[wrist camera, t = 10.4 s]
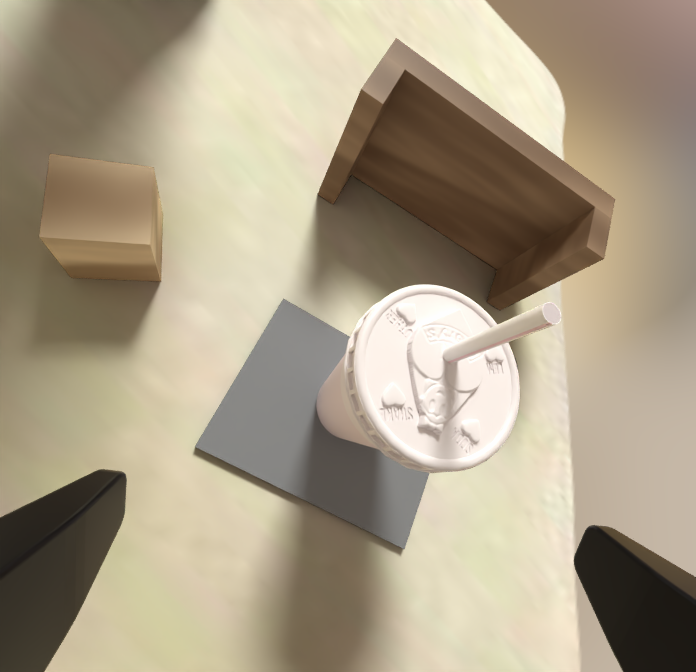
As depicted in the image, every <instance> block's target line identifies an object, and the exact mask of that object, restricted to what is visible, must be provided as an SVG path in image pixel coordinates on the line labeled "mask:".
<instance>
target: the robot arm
mask: <svg viewBox="0 0 696 672" xmlns="http://www.w3.org/2000/svg"><path fill="white" fill-rule="evenodd" d="M126 481H127V480H126V474H125V473H124V472H122V471H114V470H105V469H101V470H97V471H95V472H93V473H91V474H89V475H87V476H85V477H83V478H80V479H78V480H76V481H74V482H72V483H70V484H68V485H66V486H64V487H62V488H60V489H58V490H56V491H54V492H52V493H50V494H48V495H46V496H44V497H41V498H39V499H37V500H35V501H33V502H31V503H29V504H27V505H25V506H23V507H21V508H19V509H17V510H15V511H13V512H11V513H9V514H7V515H4V516H2V517H0V672H44V671H45V670H46V668H47V666H48V665H49V663H50V661H51V660H52V658H53V656H54V655H55V653H56V651H57V650H58V648H59V646H60V645H61V643H62V641H63V640H64V638H65V636H66V635H67V633H68V631H69V629H70V628H71V626H72V624H73V622H74V621H75V619H76V617H77V615H78V613H79V611H80V609H81V607H82V605H83V603H84V601H85V599H86V597H87V595H88V593H89V591H90V588H91V586H92V584H93V582H94V580H95V578H96V576H97V574H98V572H99V570H100V568H101V566H102V564H103V561H104V559H105V557H106V555H107V553H108V551H109V549H110V547H111V545H112V543H113V541H114V539H115V537H116V534H117V532H118V530H119V528H120V526H121V524H122V521H123V518H124V513H125V500H126ZM574 566H575V570H576V572H577V574H578V577H579V579H580V581H581V583H582V585H583V588H584V590H585V592H586V594H587V596H588V599H589V601H590V603H591V605H592V607H593V610H594V611H595V614H596V616H597V618H598V621H599V623H600V625H601V627H602V629H603V632H604V634H605V636H606V638H607V640H608V643H609V645H610V647H611V649H612V651H613V653H614V655H615V657H616V659H617V661H618V663H619V665H620V667H621V668H622V670H623V672H696V577H694V576H693V575H691V574H689V573H688V572H686V571H684V570H683V569H681V568H679V567H677V566H676V565H674V564H672V563H671V562H669V561H667V560H666V559H664V558H662V557H661V556H659V555H657V554H656V553H654V552H652V551H651V550H649V549H647V548H645V547H644V546H642V545H640V544H639V543H637V542H635V541H634V540H632V539H630V538H628V537H627V536H625V535H623V534H622V533H620V532H618V531H617V530H615V529H613V528H610V527H606V526H597V525H592V526H589V527H588V528H587V529H586V530H585V533H584V535H583V537H582V539H581V542H580V544H579V546H578V549H577V551H576V553H575V556H574Z"/></svg>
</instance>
